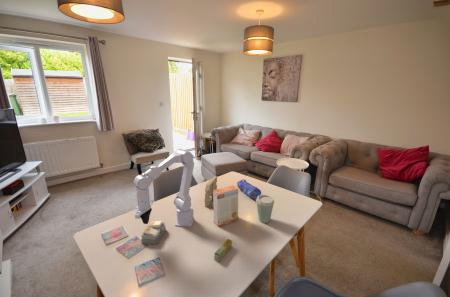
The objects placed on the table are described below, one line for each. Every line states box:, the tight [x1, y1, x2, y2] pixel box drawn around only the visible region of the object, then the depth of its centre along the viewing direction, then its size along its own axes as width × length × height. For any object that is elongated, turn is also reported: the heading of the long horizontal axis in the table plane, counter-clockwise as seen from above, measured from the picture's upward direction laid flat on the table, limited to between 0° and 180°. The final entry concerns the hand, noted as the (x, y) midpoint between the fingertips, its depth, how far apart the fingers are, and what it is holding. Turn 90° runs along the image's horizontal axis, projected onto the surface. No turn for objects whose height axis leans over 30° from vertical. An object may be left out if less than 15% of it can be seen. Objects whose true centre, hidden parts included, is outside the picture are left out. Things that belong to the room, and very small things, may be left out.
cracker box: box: [212, 185, 239, 227], centre depth 119 cm, size 14×6×21 cm, turn 119°
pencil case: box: [236, 179, 262, 201], centre depth 154 cm, size 22×9×10 cm, turn 27°
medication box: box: [213, 238, 233, 263], centre depth 96 cm, size 12×3×4 cm, turn 149°
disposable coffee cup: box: [255, 193, 275, 224], centre depth 120 cm, size 11×11×15 cm
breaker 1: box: [148, 220, 163, 228], centre depth 110 cm, size 6×3×2 cm, turn 84°
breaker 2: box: [143, 225, 158, 235], centre depth 104 cm, size 6×3×2 cm, turn 84°
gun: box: [204, 175, 218, 208], centre depth 146 cm, size 24×3×15 cm, turn 168°
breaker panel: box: [140, 221, 166, 245], centre depth 107 cm, size 8×12×5 cm, turn 174°
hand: (146, 223), depth 103 cm, fingers closed
